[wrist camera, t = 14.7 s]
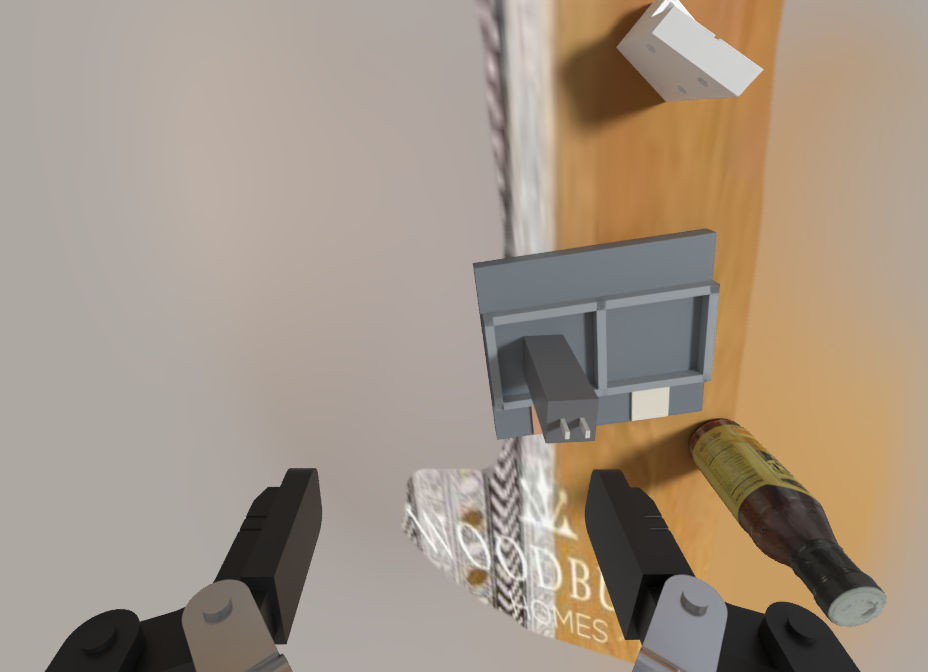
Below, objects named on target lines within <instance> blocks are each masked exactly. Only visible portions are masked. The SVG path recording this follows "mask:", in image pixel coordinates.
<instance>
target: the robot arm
mask: <svg viewBox="0 0 928 672" xmlns="http://www.w3.org/2000/svg"><path fill="white" fill-rule="evenodd" d="M321 521H322V505H321V496H320V488H319V480H318V472H317V469H316V468H290V469H288V471H287V473H286V475H285V477H284V479H283V481H282V484H281V486H280V487H268V488H267V489H265V490H264V491H263V492H262V493H261V494H260V495H259V496H258V497H257V498H256V499H255V500H254V501H253V503H252V505H251V507H250V509H249V512H248V513H247V516H246V519H245V520H244V522H243V524H242V526H241V528H240V532H238V534H237V536H236V538H235V540H234V542H233V544H232V546H231V548H230V550H229V552H228V554H227V556H226V558H225V561H224V563H223V564H222V566H221V569H220V571H219V573H218V575H217V577H216V579H215V580H214V582H213V584H210V585H208V586H207V587H205V588H203V589H202V590H200V591H199V592H198V593H197V594H196V595H194V596H193V597H192V599H191V600H190V601H189V602H188V604H187V606H186V607H184V608H182V609H180V610H177V611H174V612H171V613H168V614H165V615H161V616H158V617H154V618H151V619H148V620H144V621H141V622H140V621H139V618H138V617H137V615H136V614H135V613H134V612H132V611H130V610H125V609H116V610H111V611H107V612H104V613H101V614H99V615H97V616H95V617H92V618H91V619H89V620H87V621H86V622H84V623H83V624H82V625H81V626H79V627H78V628H77V629H76V630H75V631H73V632H72V633H71V635H70V636H69V637H68V638H67V639H66V641H65V642H64V643H63V645H62V646H61V648H60V649H59V651H58V652H57V654H56V655H55V657H54V659H53V660H52V662H51V663H50V665H49V666H48V668H47V669H46V671H45V672H292V669H291V667H290V665H289V663H288V661H287V659H286V658H285V656H284V655H283V654H281V655H280V654H279V652H278V650H277V648H276V646H275V644H287V640H288V637H289V634H290V631H291V627H292V624H293V620H294V617H295V613H296V610H297V607H298V603H299V600H300V596H301V593H302V590H303V586H304V583H305V580H306V576H307V573H308V570H309V566H310V563H311V559H312V556H313V553H314V549H315V546H316V543H317V539H318V535H319V532H320V528H321ZM585 523H586V528H587V532H588V535H589V538H590V541H591V544H592V546H593V549H594V552H595V555H596V558H597V561H598V564H599V566H600V569H601V572H602V575H603V578H604V581H605V584H606V586H607V589H608V592H609V595H610V598H611V601H612V604H613V607H614V609H615V612H616V615H617V618H618V621H619V624H620V627H621V629H622V632H623V635H624V638H625V640H640V641H641V644H642V647H641V649H640V651H639V654H638V657H637V660H636V662H635V665H634V668H633V671H632V672H860V671H859V669H858V668H857V667H856V665H855V663H854V662H853V660H852V659H851V658H850V656H849V655H848V653H847V652H846V650H845V649H844V647H843V646H842V645H841V643H840V642H839V641H838V639H837V638H836V636H835V635H834V633H833V632H832V631H831V629H830V628H829V627H828V626H827V624H826V623H825V622H824V621H823V620H821V619H820V618H819V617H818V616H816V615H815V614H814V613H812V612H810V611H809V610H807V609H805V608H803V607H801V606H799V605H796V604H793V603H789V602H776V603H773V604H771V605H770V606H769V607H768V608H767V610H766V613H765V614H763V613H759V612H756V611H752V610H749V609H745V608H741V607H738V606H734V605H731V604H729V603H726V602H724V601H723V599H722V597H721V596H720V595H719V594H718V592H717V591H716V590H715V589H714V588H712V587H711V586H710V585H709V584H707V583H706V582H704V581H702V580H700V579H698V578H696V577H695V575H694V573H693V572H692V570H691V568H690V566H689V564H688V563H687V561H686V559H685V557H684V555H683V553H682V552H681V550H680V548H679V546H678V544H677V543H676V541H675V539H674V537H673V535H672V533H671V532H670V531H669V530H668V526H667V524H666V523H665V521H664V519H662V515H661V513H660V512H659V510H658V508H657V506H656V504H655V503H654V501H653V500H652V499H651V498H650V497H649V496H648V495H647V494H646V493H645V492H644V491H642V490H641V489H640V488H630V487H629V485H628V483H627V481H626V479H625V477H624V475H623V473H622V471H621V470H593V472H592V475H591V480H590V485H589V491H588V496H587V501H586V507H585Z"/></svg>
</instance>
